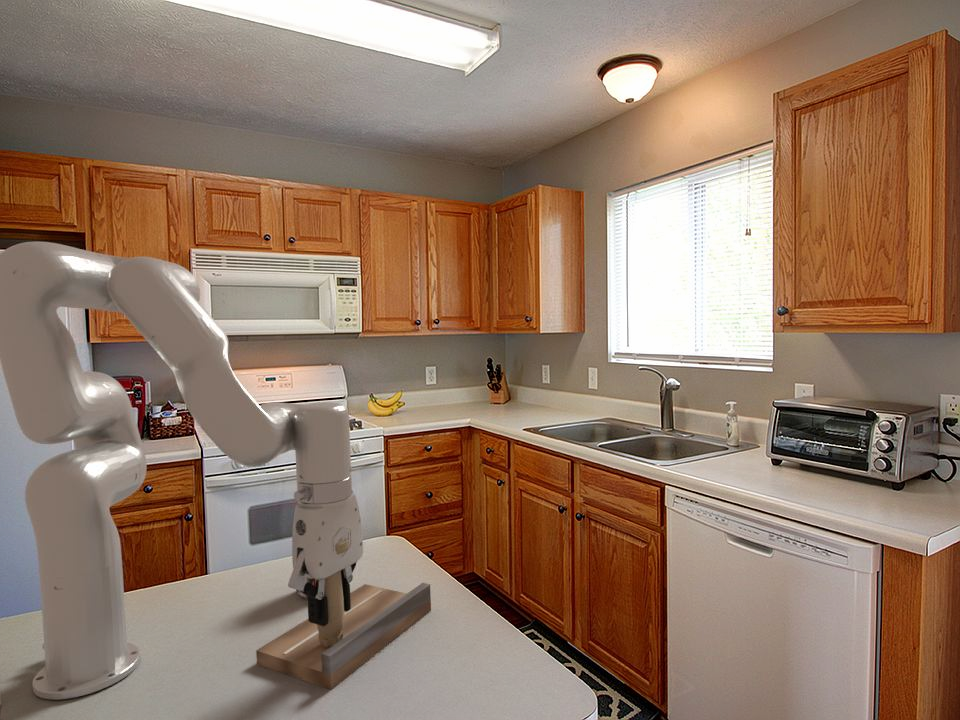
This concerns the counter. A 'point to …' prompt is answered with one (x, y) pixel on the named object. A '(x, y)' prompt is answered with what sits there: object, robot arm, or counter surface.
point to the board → (347, 636)
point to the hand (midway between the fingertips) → (330, 614)
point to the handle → (334, 605)
